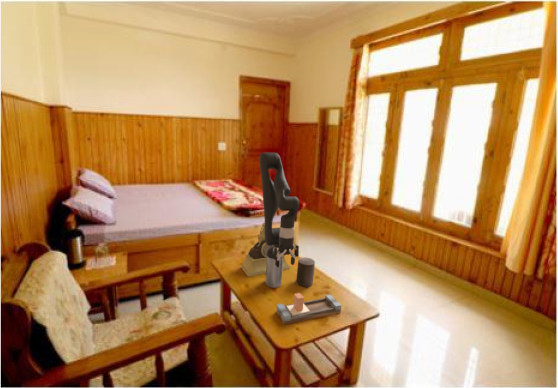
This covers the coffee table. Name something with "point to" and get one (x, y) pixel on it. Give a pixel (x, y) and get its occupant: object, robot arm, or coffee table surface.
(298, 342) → the coffee table surface
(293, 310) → the carriage
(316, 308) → the rail
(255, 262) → the decorative clock
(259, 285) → the coffee table surface
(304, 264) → the pillar candle
